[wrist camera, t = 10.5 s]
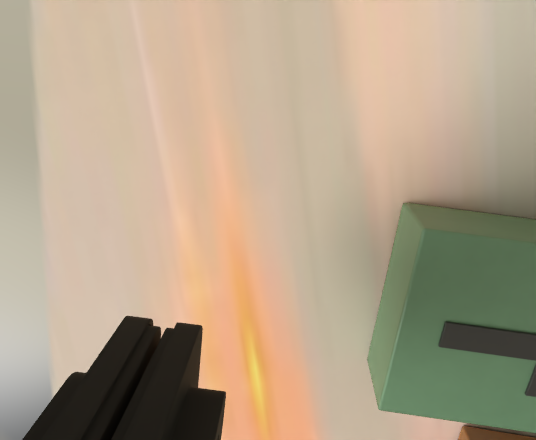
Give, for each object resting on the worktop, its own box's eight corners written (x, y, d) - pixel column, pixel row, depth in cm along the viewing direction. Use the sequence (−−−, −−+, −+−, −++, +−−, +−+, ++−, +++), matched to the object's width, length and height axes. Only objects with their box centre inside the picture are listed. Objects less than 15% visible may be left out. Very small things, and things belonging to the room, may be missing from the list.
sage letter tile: (402, 201, 14) (424, 229, 11) (596, 226, 13) (661, 261, 11) (366, 360, 16) (378, 413, 13) (535, 384, 15) (579, 443, 13)
